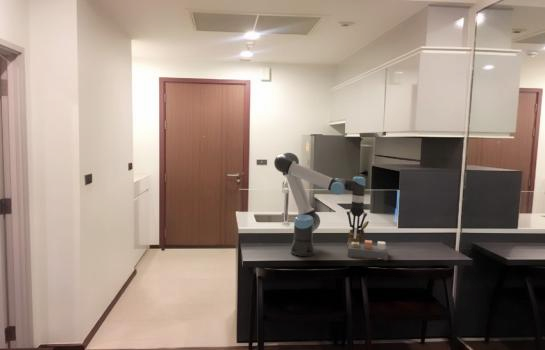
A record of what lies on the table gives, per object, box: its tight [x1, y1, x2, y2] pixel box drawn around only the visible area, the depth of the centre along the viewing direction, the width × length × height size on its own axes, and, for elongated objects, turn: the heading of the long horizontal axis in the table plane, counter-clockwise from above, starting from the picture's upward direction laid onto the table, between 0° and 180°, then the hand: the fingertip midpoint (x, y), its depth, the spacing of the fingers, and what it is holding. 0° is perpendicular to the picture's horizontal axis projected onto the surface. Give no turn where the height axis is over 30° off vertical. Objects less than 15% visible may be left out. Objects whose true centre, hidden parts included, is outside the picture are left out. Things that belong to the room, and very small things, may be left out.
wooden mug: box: [346, 221, 370, 248], centre depth 268 cm, size 9×14×18 cm, turn 87°
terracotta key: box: [364, 239, 373, 249], centre depth 253 cm, size 4×4×5 cm
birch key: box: [351, 242, 359, 248], centre depth 255 cm, size 4×4×5 cm
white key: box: [376, 240, 386, 250], centre depth 251 cm, size 4×4×5 cm
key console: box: [347, 243, 389, 259], centre depth 253 cm, size 24×12×5 cm, turn 77°
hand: (354, 238), depth 254 cm, fingers closed
